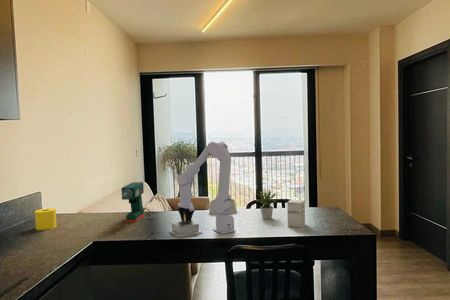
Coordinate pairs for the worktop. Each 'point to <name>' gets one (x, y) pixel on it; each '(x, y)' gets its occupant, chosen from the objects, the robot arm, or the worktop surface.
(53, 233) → the worktop surface
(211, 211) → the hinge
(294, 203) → the supplement box
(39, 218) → the yellow holed block
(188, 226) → the chuck block
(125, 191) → the power tool
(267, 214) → the house plant
